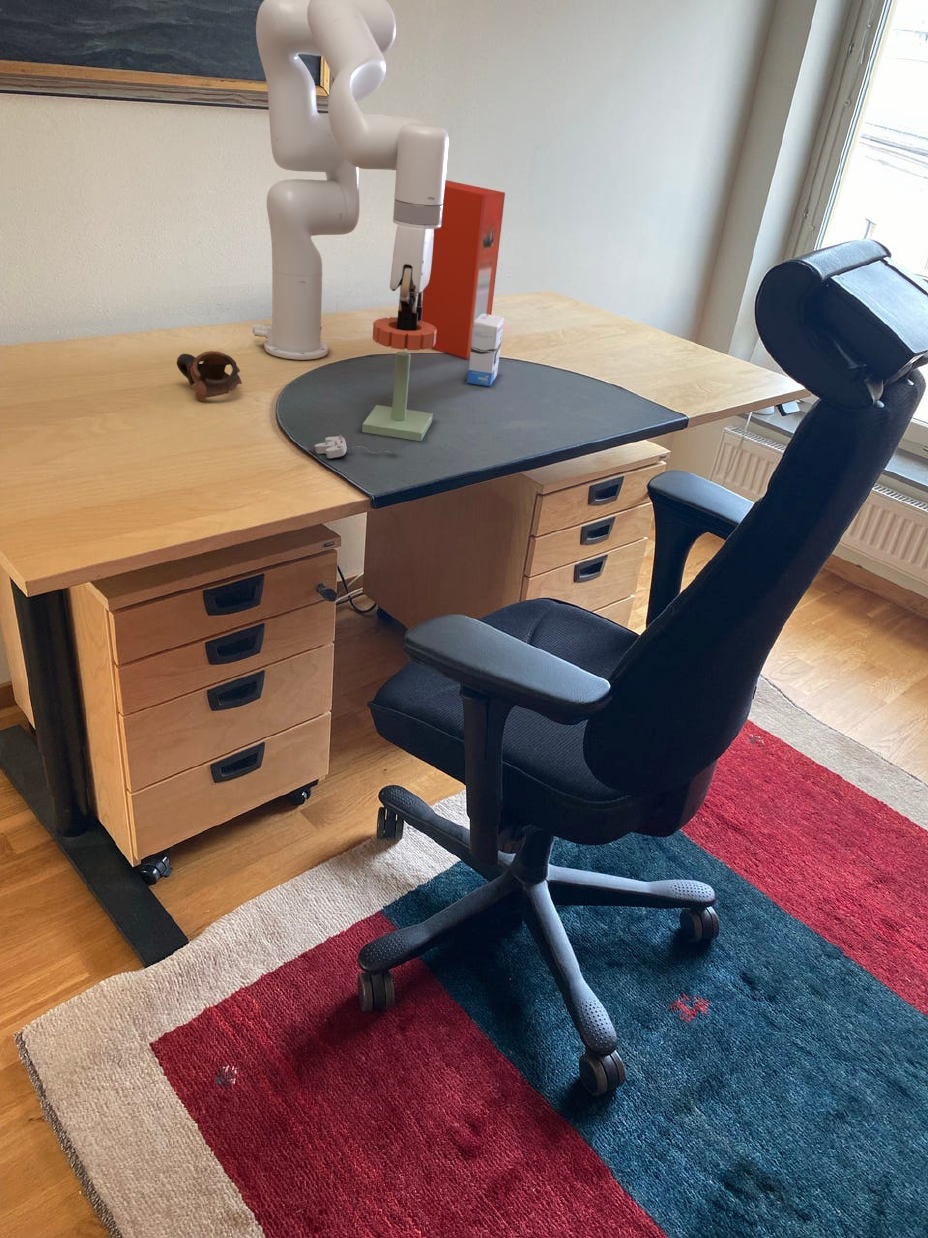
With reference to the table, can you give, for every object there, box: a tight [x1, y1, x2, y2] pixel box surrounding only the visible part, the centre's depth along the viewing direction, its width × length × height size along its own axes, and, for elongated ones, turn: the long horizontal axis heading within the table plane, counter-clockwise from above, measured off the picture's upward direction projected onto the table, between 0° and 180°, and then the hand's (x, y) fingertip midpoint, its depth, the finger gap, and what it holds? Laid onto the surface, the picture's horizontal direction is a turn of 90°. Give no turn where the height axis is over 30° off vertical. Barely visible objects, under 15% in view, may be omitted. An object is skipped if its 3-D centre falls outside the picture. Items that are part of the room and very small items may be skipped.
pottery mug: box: [176, 350, 243, 402], centre depth 162 cm, size 12×10×8 cm
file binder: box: [418, 179, 506, 360], centre depth 196 cm, size 8×17×32 cm, turn 55°
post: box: [361, 351, 433, 442], centre depth 156 cm, size 10×10×12 cm
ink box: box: [466, 314, 506, 388], centre depth 184 cm, size 8×5×12 cm, turn 168°
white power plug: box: [314, 434, 393, 459], centre depth 147 cm, size 6×12×3 cm, turn 116°
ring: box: [372, 316, 437, 351], centre depth 152 cm, size 10×10×2 cm
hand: (408, 332), depth 155 cm, fingers closed on ring, 2 cm apart
